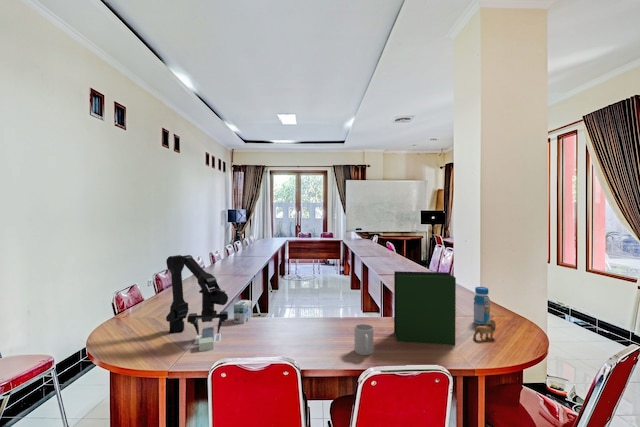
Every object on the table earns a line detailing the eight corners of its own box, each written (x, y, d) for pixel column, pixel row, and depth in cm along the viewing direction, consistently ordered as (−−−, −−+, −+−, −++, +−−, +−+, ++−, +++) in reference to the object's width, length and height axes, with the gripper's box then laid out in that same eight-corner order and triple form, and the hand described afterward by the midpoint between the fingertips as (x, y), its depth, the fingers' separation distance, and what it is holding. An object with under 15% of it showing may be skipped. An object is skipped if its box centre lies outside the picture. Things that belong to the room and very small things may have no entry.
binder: (396, 342, 162) (396, 276, 162) (393, 331, 177) (394, 270, 177) (455, 345, 159) (455, 277, 159) (447, 334, 174) (447, 272, 173)
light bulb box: (244, 324, 188) (244, 304, 188) (233, 323, 189) (233, 304, 189) (252, 318, 198) (252, 300, 198) (241, 317, 200) (241, 299, 200)
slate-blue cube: (202, 340, 162) (202, 330, 162) (203, 337, 167) (203, 327, 167) (212, 340, 164) (213, 329, 164) (213, 336, 168) (213, 326, 168)
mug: (353, 347, 156) (353, 324, 156) (371, 347, 156) (371, 323, 156) (357, 359, 144) (357, 333, 144) (376, 358, 144) (377, 333, 144)
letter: (193, 344, 159) (193, 343, 159) (196, 336, 169) (196, 335, 169) (220, 342, 162) (220, 341, 162) (221, 334, 172) (221, 333, 172)
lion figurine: (488, 334, 173) (488, 317, 173) (498, 338, 168) (498, 320, 168) (470, 339, 166) (470, 321, 166) (479, 343, 161) (479, 324, 161)
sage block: (199, 352, 150) (199, 343, 150) (198, 347, 156) (198, 338, 156) (213, 350, 153) (213, 341, 153) (212, 345, 158) (212, 337, 158)
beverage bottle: (473, 324, 189) (474, 288, 189) (473, 319, 197) (473, 285, 197) (490, 326, 186) (490, 290, 186) (489, 321, 194) (489, 286, 194)
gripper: (185, 308, 155) (185, 341, 155) (227, 305, 160) (227, 338, 160) (188, 301, 166) (188, 333, 166) (228, 299, 171) (228, 330, 171)
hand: (208, 334), depth 165 cm, fingers open, 9 cm apart
